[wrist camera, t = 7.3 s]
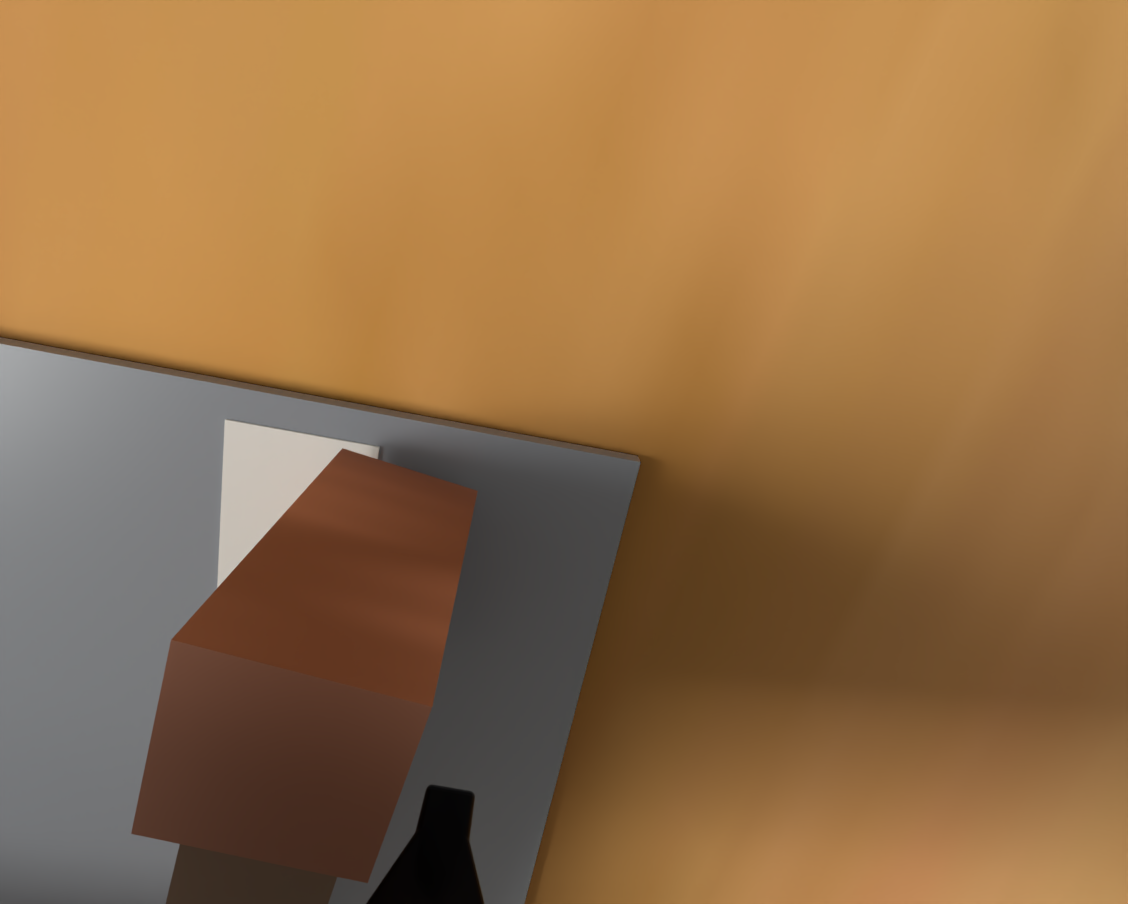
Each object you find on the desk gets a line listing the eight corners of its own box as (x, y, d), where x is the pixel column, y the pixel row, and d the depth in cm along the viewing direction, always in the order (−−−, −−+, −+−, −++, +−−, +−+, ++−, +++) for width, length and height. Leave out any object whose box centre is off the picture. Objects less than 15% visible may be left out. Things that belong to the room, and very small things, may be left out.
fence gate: (477, 490, 9) (432, 706, 5) (312, 964, 12) (195, 1351, 8) (342, 447, 9) (171, 640, 5) (206, 944, 12) (27, 1337, 8)
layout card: (472, 1086, 15) (471, 1106, 14) (-242, 1038, 13) (-262, 1058, 13) (636, 455, 10) (641, 463, 10) (-467, 249, 8) (-508, 251, 8)
